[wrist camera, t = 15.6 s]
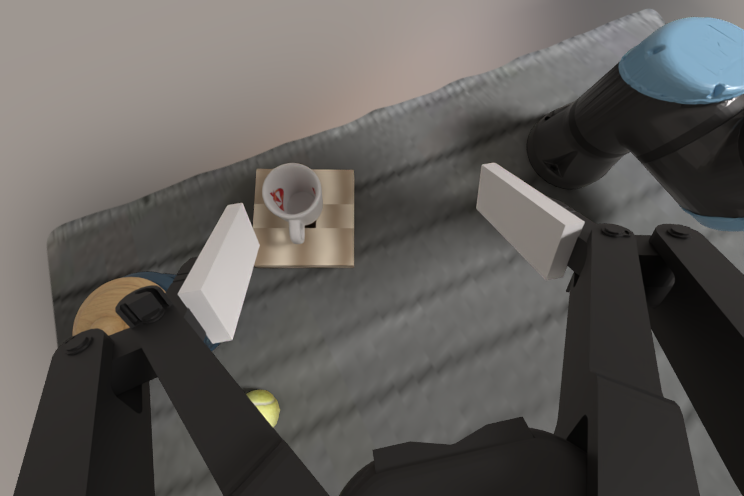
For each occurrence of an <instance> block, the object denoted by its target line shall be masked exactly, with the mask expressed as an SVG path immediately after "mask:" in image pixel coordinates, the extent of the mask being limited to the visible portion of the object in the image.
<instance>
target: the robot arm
mask: <svg viewBox="0 0 744 496" xmlns="http://www.w3.org/2000/svg"><path fill="white" fill-rule="evenodd" d="M527 152H528V157H529V160H530V162H531V164H532V166H533V168H534V169H535V171H536V172H537V173H538V174H539V175H540V176H541V177H542V178H543V179H544V180H546V181H547V182H549V183H550V184H552V185H555V186H557V187H561V188H566V189H577V188H582V187H585V186H587V185H589V184H591V183H593V182H595V181H597V180H599V179H600V178H602V177H603V176H604V175H605V174H606V173H607V172H608V171H609V170H610V169H611V167H612V166H613V165H614V164H615V163H616V162H617V161H618V160H619V159H620V158H621V157H622V156H623V155H625V154H627V153H629V152H631V153H632V154H633V155H634V156H635V157H636V158H637V159H638V160H639V161H640V162H641V163H642V164H643V165H644V166H645V168H646V169H647V170H648V171H649V172H650V173H651V174H652V175H653V176H654V177H655V179H656V180H657V181H658V182H659V183H660V184H661V185H662V186H663V187H664V189H665V190H666V191H667V192H668V193H669V194H670V195H671V196H672V197H673V198H674V200H675V201H676V202H677V203H678V204H679V206H680V207H681V208H682V209H683V210H684V211H685V212H687V213H688V214H690V215H691V216H693V217H694V218H695V219H696V220H697V221H698V222H699V223H701V224H702V225H704V226H706V227H708V228H711V229H715V230H721V231H744V30H743V29H741V28H740V27H738V26H736V25H734V24H732V23H729V22H726V21H723V20H720V19H715V18H709V17H705V18H699V17H689V18H683V19H679V20H676V21H673V22H670V23H668V24H666V25H664V26H662V27H660V28H659V29H657V30H656V31H654V32H653V33H652V34H651V35H649V36H648V37H647V38H646V39H645V40H643V41H642V42H641V43H640V44H638V45H637V46H635V47H634V48H632V49H630V50H629V51H628V52H627V53H626V54H625V55H624V56H623V57H622V59H621V61H620V62H619V63H618V64H617V65H615V66H614V67H613V68H612V69H611V70H610V71H609V72H608V73H606V74H605V75H604V76H603V77H602V78H601V79H600V80H599V81H597V82H596V83H595V84H594V85H593V86H592V87H591V88H590V89H588V90H587V91H586V92H585V93H584V94H583V95H582V96H581V97H579V98H578V99H577V100H576V101H574V102H572V103H569V104H567V105H565V106H563V107H561V108H558V109H556V110H554V111H552V112H550V113H548V114H547V115H546V116H544V117H543V118H542V119H541V120H540V121H539V122H538V123H537V124H536V125H535V126H534V127H533V129H532V130H531V132H530V134H529V137H528V141H527ZM476 209H477V210H478V211H479V212H480V213H481V214H482V215H483V216H484V217H485V218H486V219H487V220H488V221H489V222H490V223H491V224H492V225H493V226H494V227H495V228H496V229H497V231H498V232H499V233H500V234H501V235H502V236H503V237H504V238H505V239H506V240H507V241H508V242H509V243H510V244H511V245H512V246H513V247H514V248H515V249H516V250H517V251H518V252H519V253H520V254H521V255H522V256H523V257H524V258H525V259H526V260H527V261H528V262H529V263H530V264H531V265H532V267H533V268H534V269H535V270H536V271H537V272H538V273H539V274H540V275H541V276H542V277H543V278H544V279H545V280H551V279H556V278H561V277H563V276H564V273H565V271H566V268H567V266H568V267H570V268H571V269H572V270H573V271H574V273H573V275H572V278H571V280H570V283H569V285H568V287H567V290H566V292H569V291H570V296H569V307H568V318H567V328H566V339H565V349H564V360H563V370H562V381H561V392H560V402H559V413H558V421H557V425H556V428H555V431H554V434H552V433H549V432H546V431H543V430H538V429H534V428H528V426H527V424H526V422H525V420H524V418H523V417H519V418H514V419H510V420H505V421H501V422H496V423H492V424H487V425H485V426H484V427H482V428H480V429H479V430H477V431H475V432H474V433H472V434H470V435H469V436H467V437H465V438H464V439H462V440H460V441H459V442H457V443H455V444H452V445H447V444H434V443H421V442H406V443H402V444H397V445H393V446H388V447H384V448H379V449H375V450H373V456H374V461H373V462H371V463H369V464H368V465H366V466H365V467H363V468H362V469H361V470H360V471H358V472H357V473H356V474H355V475H354V476H353V477H352V478H351V479H350V481H349V482H348V483H347V485H346V486H345V487H344V488H343V490H342V492H341V493H340V495H339V496H700V494H699V490H698V485H697V480H696V475H695V471H694V466H693V461H692V457H691V452H690V447H689V443H688V438H687V433H686V428H685V424H684V419H683V415H682V412H681V409H680V407H679V406H678V405H677V404H676V402H674V401H672V400H669V399H666V398H664V397H663V394H662V390H661V385H660V379H659V373H658V367H657V361H656V355H655V349H654V344H653V338H652V332H651V329H652V331H653V333H654V335H655V337H656V338H657V340H658V342H659V344H660V346H661V348H662V349H663V351H664V353H665V355H666V357H667V359H668V361H669V362H670V364H671V366H672V368H673V370H674V372H675V373H676V375H677V377H678V379H679V381H680V383H681V385H682V386H683V388H684V390H685V392H686V394H687V396H688V397H689V399H690V401H691V403H692V405H693V407H694V409H695V410H696V412H697V414H698V416H699V418H700V420H701V421H702V423H703V425H704V427H705V429H706V431H707V433H708V434H709V436H710V438H711V440H712V442H713V444H714V445H715V447H716V449H717V451H718V453H719V455H720V457H721V458H722V460H723V462H724V464H725V466H726V468H727V469H728V471H729V473H730V475H731V477H732V479H733V480H734V482H735V484H736V485H737V487H738V489H739V490H740V492H741V494H742V496H744V275H743V274H742V273H741V272H740V271H739V270H738V269H737V268H736V267H735V266H734V265H733V264H732V263H731V262H730V261H729V260H728V259H727V258H726V257H725V256H724V255H723V254H722V253H721V252H720V251H719V250H718V249H717V248H716V247H715V246H713V245H712V244H711V243H710V242H709V241H708V240H707V239H706V238H705V237H704V236H703V235H702V234H701V233H699V232H698V231H696V230H693V229H691V228H690V227H687V226H683V225H675V224H662V225H658V226H657V227H656V228H655V230H654V232H653V234H652V235H634V234H633V232H631V231H630V230H629V229H627V228H624V227H622V226H619V225H615V224H606V223H603V224H596V223H594V222H593V221H591V220H590V219H588V218H586V217H585V216H583V215H582V214H580V213H579V212H577V211H576V212H575V210H574V209H572V208H571V207H568V205H566V204H565V203H563V202H561V201H560V200H557V199H554V198H551V197H546V196H545V195H543V194H542V193H540V192H539V191H537V190H536V189H534V188H533V187H531V186H530V185H528V184H527V183H525V182H524V181H522V180H521V179H519V178H518V177H516V176H515V175H513V174H512V173H510V172H508V171H507V170H505V169H504V168H502V167H501V166H499V165H498V164H496V163H489V164H482V166H481V174H480V182H479V190H478V197H477V205H476ZM259 246H260V244H259V242H258V239H257V237H256V235H255V232H254V230H253V227H252V225H251V222H250V220H249V218H248V215H247V213H246V210H245V208H244V205H243V203H237V204H231V205H227V207H226V209H225V210H224V212H223V214H222V216H221V218H220V219H219V221H218V223H217V225H216V226H215V228H214V230H213V232H212V234H211V235H210V237H209V239H208V241H207V242H206V244H205V246H204V248H203V250H202V251H201V253H200V255H199V257H194V258H191V259H189V260H188V261H187V262H186V263H185V264H184V265H183V266H182V267H181V268H180V270H179V272H178V273H177V276H175V278H174V280H173V283H171V285H170V286H169V288H168V290H167V291H166V293H164V291H163V290H162V289H161V287H159V286H157V285H150V286H145V287H142V288H139V289H137V290H135V291H133V292H131V293H129V294H128V295H126V296H125V297H124V298H123V299H122V300H120V301H119V303H118V304H117V306H116V307H115V312H116V313H117V314H118V315H119V316H120V317H121V319H122V320H123V321H124V322H125V323H126V324H127V325H128V326H129V327H130V328H127V329H124V330H122V331H119V332H117V333H114V334H112V335H109V336H108V335H107V334H106V333H105V332H104V331H103V330H101V329H99V328H95V329H89V330H86V331H83V332H81V333H79V334H77V335H74V336H72V337H71V338H69V339H68V340H66V341H65V342H64V343H63V344H62V345H61V346H60V347H59V348H58V349H57V350H56V351H55V353H54V355H53V357H52V360H51V364H50V367H49V371H48V374H47V378H46V381H45V385H44V388H43V392H42V396H41V399H40V403H39V406H38V410H37V413H36V417H35V420H34V424H33V428H32V431H31V435H30V438H29V442H28V445H27V449H26V452H25V456H24V459H23V463H22V466H21V470H20V474H19V477H18V481H17V484H16V488H15V491H14V495H13V496H155V490H154V470H153V449H152V429H151V408H150V388H149V381H150V380H152V379H154V378H156V377H158V378H159V380H160V382H161V383H162V385H163V387H164V389H165V391H166V392H167V394H168V396H169V398H170V400H171V401H172V403H173V405H174V407H175V409H176V410H177V412H178V414H179V416H180V418H181V419H182V421H183V423H184V425H185V427H186V429H187V430H188V432H189V434H190V436H191V438H192V439H193V441H194V443H195V445H196V447H197V448H198V450H199V452H200V454H201V456H202V457H203V459H204V461H205V463H206V465H207V466H208V468H209V470H210V472H211V474H212V475H213V477H214V479H215V481H216V483H217V484H218V486H219V488H220V490H221V492H222V494H223V496H329V495H328V493H327V492H326V491H325V490H324V488H323V487H322V486H321V485H320V483H319V482H318V481H317V480H316V479H315V477H314V476H313V475H312V474H311V472H310V471H309V470H308V469H307V467H306V466H305V465H304V464H303V463H302V461H301V460H300V459H299V458H298V456H297V455H296V454H295V453H294V451H293V450H292V449H291V448H290V447H289V445H288V444H287V443H286V442H285V441H284V440H283V439H282V438H281V437H280V436H279V434H278V433H277V432H276V431H275V430H274V428H273V427H272V426H271V425H270V423H269V422H268V421H267V420H266V418H265V417H264V416H263V415H262V413H261V412H260V411H259V410H258V409H257V407H256V406H255V405H254V404H253V402H252V401H251V400H250V399H249V397H248V396H247V395H246V394H245V392H244V391H243V390H242V389H241V387H240V386H239V385H238V384H237V383H236V381H235V380H234V379H233V378H232V376H231V375H230V374H229V373H228V371H227V370H226V369H225V368H224V366H223V365H222V364H221V363H220V362H219V360H218V359H217V358H216V357H215V355H214V354H213V353H212V352H211V350H210V349H209V348H208V347H207V345H206V344H205V343H204V342H203V341H204V339H205V336H206V335H207V336H208V338H209V339H210V341H211V342H212V344H214V343H219V342H224V341H230V340H233V336H234V333H235V329H236V326H237V322H238V319H239V316H240V312H241V309H242V305H243V302H244V298H245V295H246V291H247V288H248V284H249V281H250V277H251V274H252V270H253V267H254V263H255V260H256V257H257V253H258V250H259Z"/></svg>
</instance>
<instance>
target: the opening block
mask: <svg viewBox="0 0 744 496" xmlns="http://www.w3.org/2000/svg"><path fill="white" fill-rule="evenodd" d="M272 170H273V169H257V170H256V186H255V202H254V217H253V230H254V232H255V235H256V237H257V239H258V242H259V244H260V246H259V250H258V253H257V257H256V260H255V263H254V267H258V268H354V170H318V169H311V170H312V171H313V172H314V173H315V174H316V175H317V177H318V178H319V180H320V183H321V188H322V199H323V208H322V212H321V214H320V216H319V217H318V219H317V220H316V221H314V222H313V223H311V224H309V225H305V228H304V229H305V238H304V242H303V243H302V244H294V243H293V242H292V241H291V239H290V235H289V222H287V221H285V220H283V219H282V218H280V217H278V216H276V215H275V214H273V213H272V212H271V211H270V210H269V209H268V208H267V206H266V205H265V203H264V200H263V197H262V187H263V183H264V180H265V178H266V177H267V175H268V174H269V173H270V172H271V171H272Z"/></svg>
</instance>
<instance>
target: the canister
mask: <svg viewBox="0 0 744 496" xmlns="http://www.w3.org/2000/svg"><path fill="white" fill-rule="evenodd" d="M175 276H177V275H174V274H161V273H157V272H148V271H146V272H136V273H132V274H129V275H126V276H123V277H121V278H119V279H115V280H112V281H110V282H107V283H105V284H103V285H102V286H100V287H99V288H97V289H96V290H95V291H93V292H92V293H91V294H90V295H89V296H88V297H87V298H86V300H85V301H84V302H83V304H82V305H81V307H80V309H79V310H78V313H77V315H76V318H75V321H74V325H73V336H74V335H77V334H79V333H81V332H83V331H86V330H89V329H95V328H99V329H101V330H103V331H104V332H105V333H106V334H107V335H108V336H109V335H112V334H114V333H117V332H119V331H122V330H124V329H127V328H130V327H129V326H128V325H127V324H126V323H125V322H124V321H123V320H122V319H121V317H120V316H119V315H118V314H117V313H116V312H115V307H116V306H117V304H118V303H119V301H120V300H122V299H123V298H124V297H125V296H126V295H128V294H129V293H131V292H133V291H135V290H137V289H139V288H142V287H145V286H150V285H157V286H159V287H161V289H162V290H163V291H164V293H166V291H167V290H168V288H169V286H170V285H171V283H173V280H174V278H175ZM203 342H204V343H205V344H206V345H207V347H208V348H209V349H210V350H211V351H213V350H214V349H215V348H216V347H217V346H218V345H219V344H220V343H221V342H219V343H214V344H212V342H211V341H210V339H209V338H208V336H207V335H206V336H205V339H204V341H203Z"/></svg>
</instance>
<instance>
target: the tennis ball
mask: <svg viewBox="0 0 744 496" xmlns="http://www.w3.org/2000/svg"><path fill="white" fill-rule="evenodd" d="M246 395H247V396H248V397H249V399H250V400H251V401H252V402H253V404H254V405H255V406H256V407H257V409H258V410H259V411H260V412H261V413H262V415H263V416H264V417H265V418H266V420H267V421H268V422H269V423H270V425H271V426H272V427H274V426H275V425H276V424H277V420H278V417H279V412H280V409H279V406H278V402H277V400H276V399H275V398H274V397H273V395H272V394H271V393H270V392H268V391H267V390H266V391H265V390H260V389H259V390H254V391H251V392H248V393H247V394H246Z"/></svg>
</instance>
